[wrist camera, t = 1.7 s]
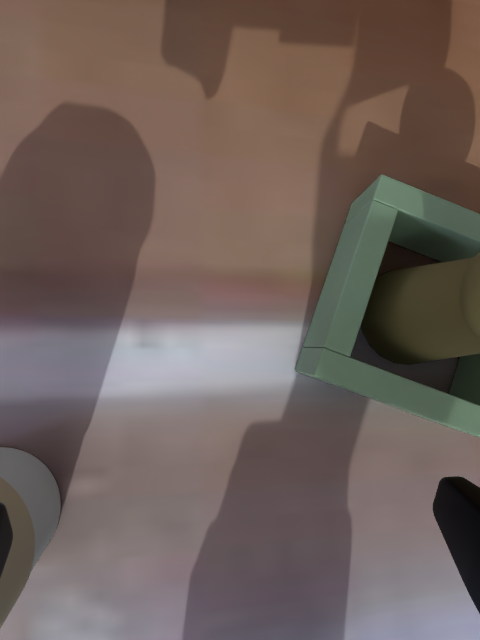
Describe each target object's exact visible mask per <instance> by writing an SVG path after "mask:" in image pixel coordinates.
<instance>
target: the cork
mask: <svg viewBox="0 0 480 640" xmlns="http://www.w3.org/2000/svg"><path fill="white" fill-rule="evenodd" d="M361 327H362V332H363V334H364V335H365V337H366V339H367V341H368V343H369V345H370V346H371V347H372V348H373V349H374V350H375V351H376V352H377V353H378V354H379V355H380V356H382V357H384V358H386V359H388V360H390V361H392V362H394V363H401V364H407V365H409V364H415V363H422V362H428V361H435V360H441V359H447V358H454V357H460V356H467V355H473V354H479V353H480V252H479V253H478V254H477V255H476V256H475V257H474V258H467V259H461V260H455V261H448V262H442V263H436V264H429V265H423V266H417V267H410V268H404V269H397V270H391V271H388V272H387V273H385V274H383V275H381V276H379V277H377V278H376V280H375V283H374V286H373V289H372V292H371V295H370V298H369V301H368V304H367V307H366V310H365V314H364V317H363V320H362V323H361Z"/></svg>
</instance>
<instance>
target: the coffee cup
mask: <svg viewBox="0 0 480 640" xmlns="http://www.w3.org/2000/svg"><path fill="white" fill-rule="evenodd" d="M0 502H1V503H3V504H4V505H5V506H6V509H7V512H8V516H9V519H10V523H11V526H12V530H13V541H12V545H11V549H10V552H9V555H8V558H7V560H6V563H5V566H4V569H3V572H2V575H1V578H0V628H1V626H2V625H3V623H4V621H5V620H6V618H7V616H8V614H9V613H10V611H11V609H12V608H13V606H14V604H15V603H16V601H17V599H18V598H19V596H20V594H21V592H22V591H23V589H24V587H25V585H26V582H27V580H28V578H29V575H30V572H31V571H32V569H33V567H34V566H35V564H36V563H37V561H38V559H39V558H40V556H41V555H42V553H43V551H44V550H45V548H46V547H47V545H48V543H49V542H50V540H51V538H52V537H53V535H54V533H55V530H56V528H57V525H58V521H59V517H60V509H61V500H60V493H59V489H58V485H57V483H56V480H55V478H54V476H53V475H52V473H51V472H50V470H49V469H48V468H47V467H46V465H45V464H44V463H42V462H41V461H40V460H39V459H38V458H36V457H35V456H33V455H31V454H29V453H27V452H25V451H22V450H19V449H14V448H6V447H0Z"/></svg>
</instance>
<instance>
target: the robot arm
mask: <svg viewBox="0 0 480 640" xmlns="http://www.w3.org/2000/svg"><path fill="white" fill-rule="evenodd" d="M433 513H434V516H435V519H436V521H437V523H438V526H439V528H440V530H441V532H442V535H443V537H444V539H445V541H446V544H447V546H448V548H449V550H450V553H451V555H452V557H453V559H454V562H455V564H456V566H457V568H458V571H459V573H460V575H461V577H462V580H463V582H464V584H465V586H466V588H467V590H468V592H469V594H470V596H471V598H472V600H473V602H474V604H475V606H476V608H477V610H478V611H479V613H480V488H479V487H478V486H476V485H475V484H473V483H471V482H470V481H468V480H467V479H465V478H463V477H444V478H442V479H441V480H440V482H439V485H438V489H437V492H436V495H435V499H434V502H433ZM12 541H13V530H12V526H11V523H10V519H9V516H8V512H7V509H6V506H5V505H4V504H3V503H1V502H0V578H1V575H2V572H3V569H4V566H5V563H6V560H7V558H8V555H9V552H10V549H11V545H12Z"/></svg>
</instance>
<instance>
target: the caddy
mask: <svg viewBox="0 0 480 640" xmlns="http://www.w3.org/2000/svg"><path fill="white" fill-rule="evenodd" d="M388 241H389V242H392V243H394V244H397V245H399V246H402V247H404V248H407V249H409V250H412V251H415V252H417V253H420V254H422V255H425V256H427V257H430V258H432V259H435V260H437V261H440V262H448V261H455V260H461V259H467V258H474V257H475V256H476V255H477V254H478V253H479V252H480V214H479V213H476V212H474V211H471V210H469V209H466V208H464V207H461V206H459V205H456V204H454V203H452V202H449V201H447V200H444V199H442V198H439V197H437V196H434V195H432V194H430V193H427V192H425V191H422V190H420V189H417V188H415V187H412V186H410V185H407V184H405V183H403V182H400V181H398V180H395V179H393V178H390V177H388V176H385V175H383V174H381V175H380V176H379V177H378V178H377V179H376V180H375V181H374V182H373V183H372V184H371V185H370V186H369V187H368V188H367V189H366V190H365V191H364V192H363V193H362V194H361V195H360V196H359V197H358V198H357V199H356V200H355V201H354V202H353V203H352V204H351V207H350V210H349V213H348V216H347V219H346V222H345V225H344V228H343V231H342V234H341V236H340V239H339V242H338V245H337V248H336V251H335V254H334V257H333V260H332V263H331V266H330V269H329V272H328V275H327V277H326V280H325V283H324V286H323V289H322V292H321V295H320V298H319V301H318V304H317V307H316V310H315V313H314V316H313V318H312V321H311V324H310V327H309V330H308V333H307V336H306V339H305V342H304V345H303V347H304V348H302V351H301V353H300V356H299V359H298V362H297V365H296V368H295V371H296V372H299V373H302V374H305V375H307V376H310V377H313V378H316V379H318V380H321V381H324V382H327V383H329V384H332V385H335V386H338V387H340V388H343V389H346V390H349V391H351V392H354V393H357V394H359V395H362V396H365V397H368V398H370V399H373V400H376V401H379V402H381V403H384V404H387V405H390V406H392V407H395V408H398V409H401V410H403V411H406V412H409V413H412V414H414V415H417V416H420V417H423V418H425V419H428V420H431V421H434V422H436V423H439V424H442V425H445V426H447V427H450V428H453V429H456V430H458V431H461V432H464V433H467V434H470V435H473V436H476V437H479V438H480V353H479V354H473V355H467V356H460V358H459V361H458V365H457V368H456V371H455V375H454V378H453V381H452V385H451V388H450V392H449V394H447V393H445V392H442V391H439V390H437V389H434V388H431V387H429V386H426V385H423V384H420V383H418V382H415V381H412V380H410V379H407V378H404V377H402V376H399V375H396V374H394V373H391V372H388V371H385V370H383V369H380V368H377V367H375V366H372V365H369V364H367V363H364V362H361V361H358V360H356V359H353V358H350V356H351V353H352V350H353V347H354V344H355V341H356V338H357V335H358V332H359V329H360V326H361V323H362V320H363V317H364V314H365V310H366V307H367V304H368V301H369V298H370V295H371V292H372V289H373V286H374V283H375V280H376V277H377V274H378V271H379V268H380V265H381V261H382V258H383V255H384V252H385V249H386V246H387V243H388Z"/></svg>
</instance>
